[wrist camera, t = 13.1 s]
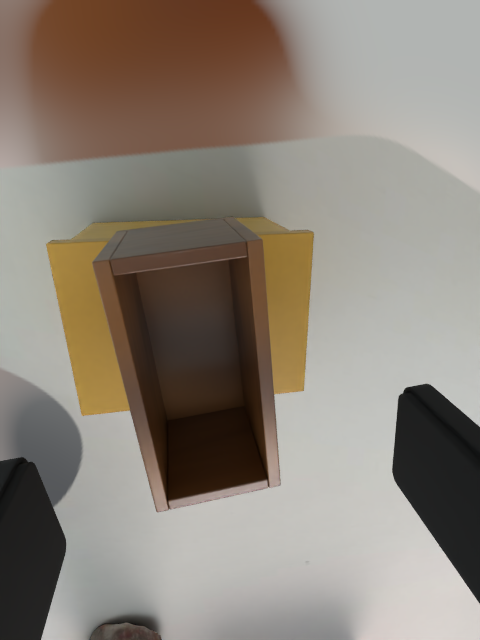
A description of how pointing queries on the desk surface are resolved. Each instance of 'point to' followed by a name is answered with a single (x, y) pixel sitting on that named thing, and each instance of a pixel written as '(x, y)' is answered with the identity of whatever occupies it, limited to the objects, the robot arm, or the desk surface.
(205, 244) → the wooden cubby shelf
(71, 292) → the box
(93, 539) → the desk surface
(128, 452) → the desk surface
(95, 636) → the candle
